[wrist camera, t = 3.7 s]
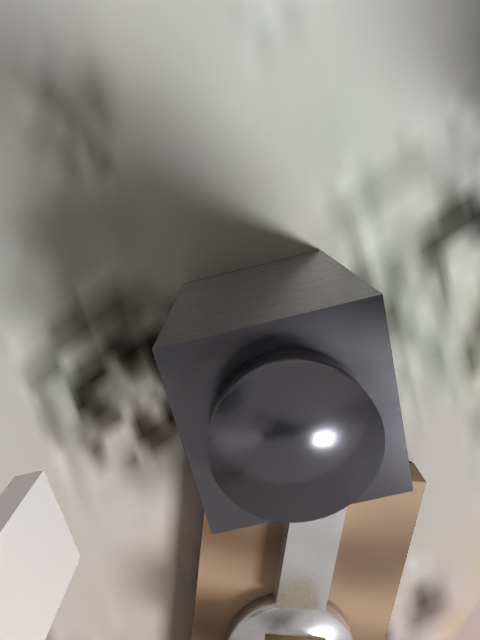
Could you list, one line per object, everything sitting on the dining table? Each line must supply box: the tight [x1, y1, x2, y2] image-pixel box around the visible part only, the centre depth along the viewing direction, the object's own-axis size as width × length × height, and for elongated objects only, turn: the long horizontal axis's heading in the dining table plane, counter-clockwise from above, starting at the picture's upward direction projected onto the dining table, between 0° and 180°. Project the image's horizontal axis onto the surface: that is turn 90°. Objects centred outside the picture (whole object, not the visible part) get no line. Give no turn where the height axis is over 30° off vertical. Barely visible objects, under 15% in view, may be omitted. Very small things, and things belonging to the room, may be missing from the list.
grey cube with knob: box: [152, 250, 413, 534], centre depth 15 cm, size 6×6×9 cm
